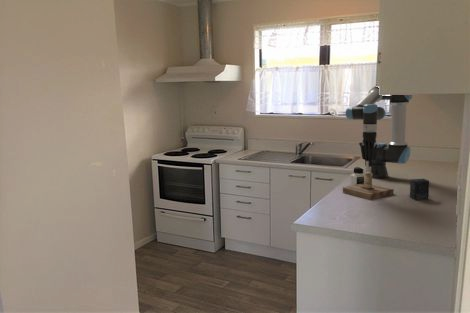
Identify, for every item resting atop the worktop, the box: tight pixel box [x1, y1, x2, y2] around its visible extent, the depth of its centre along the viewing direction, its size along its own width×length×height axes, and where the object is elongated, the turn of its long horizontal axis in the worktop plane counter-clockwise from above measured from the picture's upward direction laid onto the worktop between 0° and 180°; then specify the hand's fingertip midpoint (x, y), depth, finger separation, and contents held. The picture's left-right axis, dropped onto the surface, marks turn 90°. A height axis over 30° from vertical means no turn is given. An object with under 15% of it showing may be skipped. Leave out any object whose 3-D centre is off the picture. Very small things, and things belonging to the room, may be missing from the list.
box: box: [409, 178, 430, 201], centre depth 213 cm, size 8×6×11 cm
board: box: [342, 183, 395, 200], centre depth 227 cm, size 20×20×3 cm
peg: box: [363, 171, 373, 190], centre depth 227 cm, size 4×4×12 cm
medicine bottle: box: [350, 166, 365, 186], centre depth 244 cm, size 7×7×12 cm
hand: (368, 171), depth 226 cm, fingers closed
